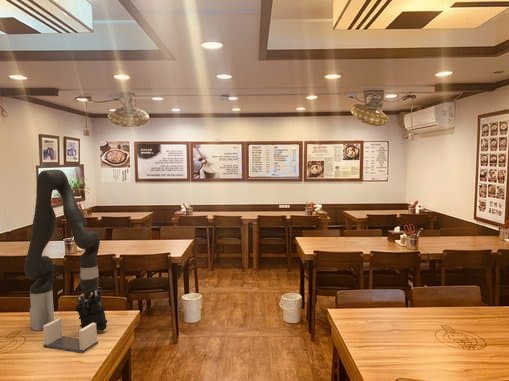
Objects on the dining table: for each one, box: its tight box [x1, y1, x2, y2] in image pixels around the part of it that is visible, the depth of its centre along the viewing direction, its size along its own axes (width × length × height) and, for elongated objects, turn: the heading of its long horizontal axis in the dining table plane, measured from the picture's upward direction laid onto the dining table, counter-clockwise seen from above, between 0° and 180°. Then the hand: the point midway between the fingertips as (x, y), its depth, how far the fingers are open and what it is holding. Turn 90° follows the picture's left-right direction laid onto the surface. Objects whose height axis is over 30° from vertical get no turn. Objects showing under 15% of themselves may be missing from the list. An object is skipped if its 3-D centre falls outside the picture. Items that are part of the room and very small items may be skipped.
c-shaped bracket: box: [42, 318, 98, 350], centre depth 164 cm, size 20×8×8 cm, turn 73°
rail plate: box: [42, 335, 99, 354], centre depth 164 cm, size 20×9×1 cm, turn 73°
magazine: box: [74, 295, 108, 332], centre depth 176 cm, size 4×13×15 cm, turn 82°
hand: (90, 313), depth 176 cm, fingers closed on magazine, 4 cm apart
